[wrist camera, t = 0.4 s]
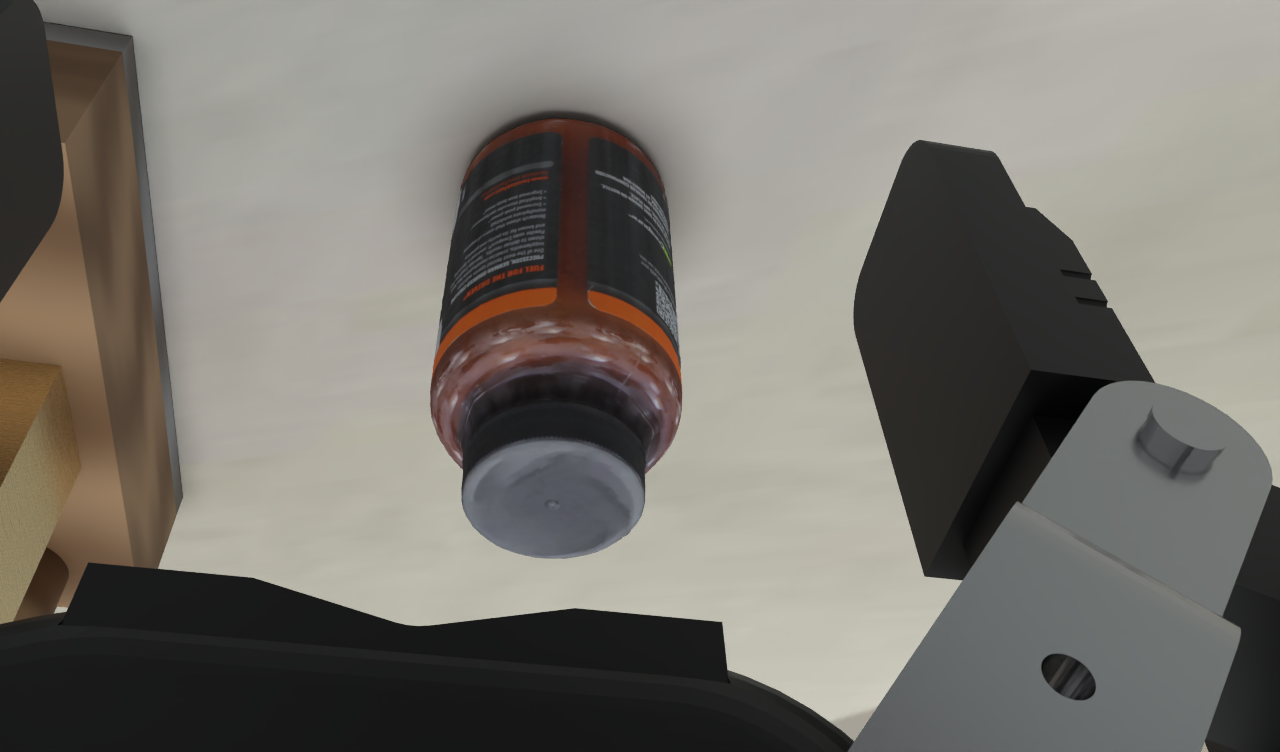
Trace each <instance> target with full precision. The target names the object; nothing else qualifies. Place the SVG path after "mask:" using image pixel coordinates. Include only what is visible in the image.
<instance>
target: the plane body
mask: <svg viewBox="0 0 1280 752" xmlns="http://www.w3.org/2000/svg"><path fill="white" fill-rule="evenodd" d="M43 23H44V28H45V33H46V40H47V47H48V54H49V61H50V68H51V75H52V82H53V89H54V96H55V103H56V110H57V117H58V124H59V131H60V138H61V145H62V152H63V161H64V181H63V191H62V197H61V202H60V206H59V209H58V212H57V215H56V218H55V220H54V222H53V224H52V226H51V227H50V229H49V230H48V232H47V233H46V235H45V236H44V238H43V239H42V241H41V242H40V244H39V245H38V247H37V248H36V250H35V251H34V253H33V254H32V256H31V257H30V259H29V260H28V262H27V263H26V265H25V266H24V268H23V269H22V271H21V272H20V274H19V275H18V277H17V278H16V280H15V281H14V283H13V284H12V286H11V287H10V289H9V290H8V292H7V293H6V295H5V296H4V298H3V299H2V301H1V302H0V358H2V359H11V360H19V361H27V362H35V363H43V364H52V365H60V366H62V370H63V375H64V380H65V385H66V390H67V395H68V400H69V406H70V411H71V416H72V421H73V426H74V431H75V436H76V442H77V447H78V452H79V457H80V462H81V467H82V468H81V470H80V472H79V475H78V477H77V479H76V481H75V484H74V486H73V488H72V490H71V493H70V495H69V497H68V499H67V502H66V504H65V506H64V508H63V511H62V513H61V515H60V517H59V519H58V522H57V524H56V526H55V528H54V531H53V533H52V535H51V537H50V540H49V542H48V544H47V546H46V549H45V551H44V553H43V555H42V558H41V560H40V562H39V564H38V567H37V569H36V571H35V573H34V576H33V578H32V580H31V582H30V585H29V587H28V589H27V591H26V594H25V596H24V598H23V600H22V603H21V605H20V607H19V609H18V612H17V614H16V616H15V618H14V621H17V620H22V619H27V618H32V617H37V616H42V615H48V614H54V612H55V609H56V607H57V606H59V607H69V605H70V603H71V600H72V598H73V596H74V594H75V591H76V589H77V587H78V584H79V582H80V580H81V578H82V575H83V573H84V571H85V569H86V566H87V564H88V562H90V563H100V564H111V565H121V566H132V567H143V568H153V569H158V566H159V563H160V561H161V558H162V555H163V552H164V549H165V546H166V543H167V541H168V538H169V535H170V532H171V529H172V526H173V523H174V521H175V518H176V515H177V512H178V509H179V506H180V504H181V501H182V498H183V496H182V487H181V478H180V468H179V459H178V450H177V441H176V432H175V423H174V414H173V405H172V395H171V386H170V377H169V368H168V359H167V350H166V341H165V331H164V322H163V313H162V304H161V295H160V286H159V277H158V268H157V258H156V249H155V240H154V231H153V222H152V213H151V204H150V195H149V185H148V176H147V167H146V158H145V149H144V140H143V131H142V121H141V112H140V103H139V94H138V85H137V76H136V67H135V58H134V48H133V39H132V37H131V36H125V35H119V34H112V33H106V32H100V31H94V30H88V29H82V28H75V27H69V26H63V25H57V24H51V23H45V22H43Z"/></svg>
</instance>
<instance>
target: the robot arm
mask: <svg viewBox="0 0 1280 752" xmlns="http://www.w3.org/2000/svg"><path fill="white" fill-rule="evenodd" d="M63 181H64V161H63V152H62V145H61V138H60V131H59V124H58V117H57V110H56V103H55V96H54V89H53V82H52V75H51V68H50V61H49V54H48V47H47V40H46V33H45V28H44V23H43V19H42V16H41V13H40V11H39V8H38V7H37V5H36V3H35V2H34V1H33V0H0V302H1V301H2V299H3V298H4V296H5V295H6V293H7V292H8V290H9V289H10V287H11V286H12V284H13V283H14V281H15V280H16V278H17V277H18V275H19V274H20V272H21V271H22V269H23V268H24V266H25V265H26V263H27V262H28V260H29V259H30V257H31V256H32V254H33V253H34V251H35V250H36V248H37V247H38V245H39V244H40V242H41V241H42V239H43V238H44V236H45V235H46V233H47V232H48V230H49V229H50V227H51V226H52V224H53V222H54V220H55V218H56V215H57V212H58V209H59V206H60V202H61V197H62V191H63ZM1091 275H1092V273H1091V272H1090V270H1089V268H1088V267H1087V265H1086V263H1085V261H1084V260H1083V258H1082V256H1081V255H1080V253H1079V251H1078V249H1077V248H1076V246H1075V244H1074V243H1073V241H1072V240H1071V239H1070V238H1069V237H1068V236H1067V235H1065V234H1064V233H1063V232H1062V231H1061V230H1060V229H1059V228H1057V227H1056V226H1055V225H1054V224H1053V223H1052V222H1051V221H1049V220H1048V219H1047V218H1046V217H1045V216H1044V215H1043V214H1041V213H1040V212H1039V211H1038V210H1037V209H1036V208H1030V207H1025V205H1024V203H1023V201H1022V200H1021V198H1020V196H1019V194H1018V192H1017V190H1016V189H1015V187H1014V185H1013V183H1012V181H1011V179H1010V178H1009V176H1008V174H1007V172H1006V170H1005V169H1004V167H1003V165H1002V163H1001V161H1000V159H999V158H998V156H997V155H996V154H995V153H994V152H992V151H986V150H980V149H974V148H967V147H961V146H955V145H948V144H942V143H936V142H930V141H923V140H918V141H916V142H914V143H913V144H912V145H911V146H910V148H909V149H908V150H907V152H906V154H905V156H904V158H903V160H902V162H901V164H900V167H899V169H898V172H897V175H896V178H895V180H894V183H893V186H892V188H891V191H890V194H889V197H888V199H887V202H886V205H885V207H884V210H883V213H882V215H881V218H880V221H879V224H878V226H877V229H876V232H875V234H874V237H873V240H872V242H871V245H870V248H869V251H868V253H867V256H866V259H865V261H864V264H863V267H862V270H861V273H860V276H859V279H858V283H857V288H856V293H855V300H854V316H853V317H854V330H855V335H856V339H857V342H858V346H859V349H860V353H861V356H862V360H863V363H864V367H865V370H866V374H867V377H868V381H869V384H870V388H871V391H872V395H873V398H874V402H875V405H876V409H877V412H878V416H879V419H880V422H881V426H882V429H883V433H884V436H885V440H886V443H887V447H888V450H889V454H890V457H891V461H892V464H893V468H894V471H895V475H896V478H897V482H898V485H899V489H900V492H901V496H902V499H903V503H904V506H905V510H906V513H907V517H908V520H909V524H910V527H911V531H912V534H913V538H914V541H915V545H916V548H917V552H918V555H919V559H920V562H921V566H922V569H923V573H924V576H926V577H936V578H946V579H955V580H963V581H962V582H961V584H960V585H959V587H958V588H957V590H956V591H955V593H954V594H953V596H952V597H951V599H950V600H949V602H948V603H947V605H946V606H945V608H944V609H943V611H942V612H941V614H940V615H939V617H938V618H937V620H936V621H935V623H934V624H933V625H932V627H931V628H930V630H929V631H928V633H927V634H926V636H925V637H924V639H923V640H922V642H921V643H920V645H919V646H918V648H917V649H916V651H915V652H914V654H913V655H912V657H911V658H910V660H909V661H908V663H907V664H906V666H905V667H904V669H903V670H902V672H901V673H900V674H899V676H898V677H897V679H896V680H895V682H894V683H893V685H892V686H891V688H890V689H889V691H888V692H887V694H886V695H885V697H884V698H883V700H882V701H881V703H880V704H879V706H878V707H877V709H876V710H875V712H874V713H873V715H872V716H871V718H870V719H869V721H868V722H867V723H866V725H865V726H864V728H863V729H862V731H861V732H860V734H859V735H858V737H857V738H856V740H855V741H853V740H852V739H851V738H850V737H848V736H847V735H846V734H845V733H844V732H843V731H842V730H840V729H839V728H837V727H836V726H834V725H833V724H832V723H830V722H829V721H827V720H826V719H825V718H823V717H822V716H820V715H819V714H817V713H816V712H815V711H813V710H812V709H810V708H808V707H807V706H805V705H803V704H801V703H800V702H798V701H796V700H794V699H792V698H791V697H789V696H787V695H785V694H784V693H782V692H780V691H778V690H776V689H774V688H771V687H769V686H767V685H764V684H762V683H760V682H758V681H755V680H753V679H751V678H749V677H746V676H743V675H741V674H738V673H735V672H732V671H729V670H727V663H726V653H725V644H724V635H723V626H722V622H715V621H704V620H693V619H683V618H672V617H662V616H651V615H640V614H630V613H619V612H609V611H598V610H587V609H577V608H574V609H566V610H557V611H549V612H540V613H532V614H524V615H515V616H507V617H499V618H490V619H482V620H473V621H465V622H457V623H448V624H440V625H431V626H410V625H404V624H399V623H395V622H392V621H389V620H386V619H382V618H379V617H376V616H373V615H370V614H367V613H363V612H360V611H357V610H354V609H351V608H347V607H344V606H341V605H338V604H335V603H331V602H328V601H325V600H322V599H319V598H315V597H312V596H309V595H306V594H303V593H300V592H296V591H293V590H290V589H287V588H284V587H280V586H277V585H274V584H271V583H268V582H264V581H261V580H258V579H255V578H248V577H238V576H227V575H217V574H206V573H196V572H185V571H174V570H164V569H153V568H143V567H132V566H121V565H111V564H100V563H90V562H88V564H87V566H86V569H85V571H84V573H83V575H82V578H81V580H80V582H79V584H78V587H77V589H76V591H75V594H74V596H73V598H72V600H71V603H70V605H69V607H68V609H67V612H63V613H55V614H48V615H42V616H37V617H32V618H27V619H22V620H17V621H13V622H8V623H3V624H0V752H1201V750H1202V747H1203V745H1204V742H1205V743H1206V746H1207V749H1208V751H1209V752H1280V488H1279V487H1276V486H1273V485H1272V480H1273V478H1272V470H1271V467H1270V464H1269V461H1268V459H1267V457H1266V455H1265V454H1264V452H1263V450H1262V449H1261V447H1260V446H1259V445H1258V444H1257V442H1256V441H1255V440H1254V439H1253V437H1252V436H1251V435H1250V434H1249V433H1248V432H1247V431H1246V430H1245V429H1244V428H1243V427H1242V426H1240V425H1239V424H1238V423H1237V422H1235V421H1234V420H1233V419H1232V418H1230V417H1229V416H1228V415H1226V414H1225V413H1223V412H1222V411H1220V410H1219V409H1217V408H1216V407H1214V406H1212V405H1210V404H1209V403H1207V402H1205V401H1203V400H1201V399H1199V398H1197V397H1195V396H1193V395H1190V394H1188V393H1186V392H1183V391H1180V390H1178V389H1175V388H1172V387H1169V386H1165V385H1161V384H1157V383H1155V382H1154V380H1153V378H1152V376H1151V375H1150V373H1149V371H1148V370H1147V368H1146V366H1145V364H1144V363H1143V361H1142V359H1141V358H1140V356H1139V354H1138V352H1137V351H1136V349H1135V347H1134V346H1133V344H1132V342H1131V340H1130V339H1129V337H1128V335H1127V334H1126V332H1125V330H1124V328H1123V327H1122V325H1121V323H1120V321H1119V320H1118V318H1117V316H1116V315H1115V313H1114V311H1113V309H1112V308H1107V302H1108V301H1107V299H1106V297H1105V296H1104V294H1103V292H1102V291H1101V289H1100V287H1099V285H1098V284H1097V282H1096V281H1095V280H1091Z"/></svg>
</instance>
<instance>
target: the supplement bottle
mask: <svg viewBox="0 0 1280 752" xmlns="http://www.w3.org/2000/svg"><path fill="white" fill-rule="evenodd" d="M680 368H681V361H680V350H679V337H678V323H677V313H676V300H675V289H674V274H673V261H672V247H671V235H670V221H669V212H668V204H667V198H666V195H665V190H664V186H663V184H662V181H661V178H660V176H659V174H658V172H657V171H656V169H655V167H654V165H653V164H652V162H651V161H650V160H649V159H648V157H647V156H646V155H645V154H644V153H643V152H642V151H641V150H640V149H639V148H638V147H637V146H635V145H634V144H633V143H632V142H631V141H630V140H629V139H627V138H625V137H624V136H622V135H621V134H619V133H617V132H615V131H613V130H611V129H608V128H606V127H603V126H601V125H598V124H594V123H590V122H585V121H580V120H572V119H555V118H554V119H544V120H540V121H535V122H530V123H527V124H524V125H521V126H518V127H516V128H514V129H512V130H510V131H508V132H505V133H503V134H502V135H500V136H498V137H497V138H495V139H494V140H492V141H491V142H490V143H489V144H488V145H487V146H486V147H485V148H484V149H483V150H482V151H481V152H480V153H479V154H478V155H477V156H476V157H475V158H474V160H473V162H472V163H471V165H470V166H469V168H468V170H467V173H466V175H465V177H464V180H463V183H462V185H461V189H460V194H459V197H458V201H457V205H456V214H455V220H454V227H453V234H452V239H451V248H450V254H449V261H448V266H447V274H446V282H445V289H444V296H443V300H442V310H441V315H440V323H439V330H438V337H437V345H436V352H435V359H434V366H433V374H432V381H431V390H430V395H431V403H430V406H431V416H432V421H433V424H434V426H435V429H436V432H437V435H438V436H439V439H440V441H441V442H442V444H443V445H444V447H445V449H446V451H447V452H448V454H449V455H450V456H451V457H452V459H453V460H454V461H455V462H456V463H457V464H458V465H459V466H460V468H462V469H463V481H462V505H463V509H464V512H465V514H466V516H467V518H468V519H469V521H470V522H471V524H472V526H473V527H474V528H475V529H476V530H477V531H478V532H479V533H480V534H481V535H483V536H484V537H485V538H486V539H488V540H489V541H491V542H492V543H494V544H495V545H497V546H499V547H501V548H503V549H506V550H509V551H511V552H515V553H518V554H522V555H526V556H531V557H535V558H563V559H565V558H572V557H578V556H583V555H588V554H591V553H595V552H598V551H600V550H603V549H605V548H607V547H609V546H610V545H612V544H613V543H615V542H617V541H618V540H620V539H621V538H622V537H624V536H626V535H627V534H629V533H630V531H631V529H632V528H633V527H634V526H635V525H636V524H637V522H638V521H639V519H640V517H641V515H642V512H643V508H644V503H645V474H646V473H647V472H648V471H649V470H650V469H651V468H652V467H653V466H654V465H655V464H656V463H657V462H658V461H659V460H660V458H661V457H662V456H663V455H664V454H665V453H666V451H667V450H668V448H669V447H670V445H671V444H672V441H673V439H674V437H675V434H676V431H677V429H678V425H679V422H680V417H681V410H682V384H681V372H680Z"/></svg>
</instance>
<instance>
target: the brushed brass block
mask: <svg viewBox="0 0 1280 752" xmlns="http://www.w3.org/2000/svg"><path fill="white" fill-rule="evenodd" d="M81 468H82V467H81V462H80V457H79V452H78V447H77V442H76V436H75V431H74V426H73V421H72V416H71V411H70V406H69V400H68V395H67V390H66V385H65V380H64V375H63V370H62V366H60V365H52V364H43V363H35V362H27V361H19V360H11V359H2V358H0V624H3V623H8V622H13V621H14V618H15V616H16V614H17V612H18V609H19V607H20V605H21V603H22V600H23V598H24V596H25V594H26V591H27V589H28V587H29V585H30V582H31V580H32V578H33V576H34V573H35V571H36V569H37V567H38V564H39V562H40V560H41V558H42V555H43V553H44V551H45V549H46V546H47V544H48V542H49V540H50V537H51V535H52V533H53V531H54V528H55V526H56V524H57V522H58V519H59V517H60V515H61V513H62V511H63V508H64V506H65V504H66V502H67V499H68V497H69V495H70V493H71V490H72V488H73V486H74V484H75V481H76V479H77V477H78V475H79V472H80V470H81Z"/></svg>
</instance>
